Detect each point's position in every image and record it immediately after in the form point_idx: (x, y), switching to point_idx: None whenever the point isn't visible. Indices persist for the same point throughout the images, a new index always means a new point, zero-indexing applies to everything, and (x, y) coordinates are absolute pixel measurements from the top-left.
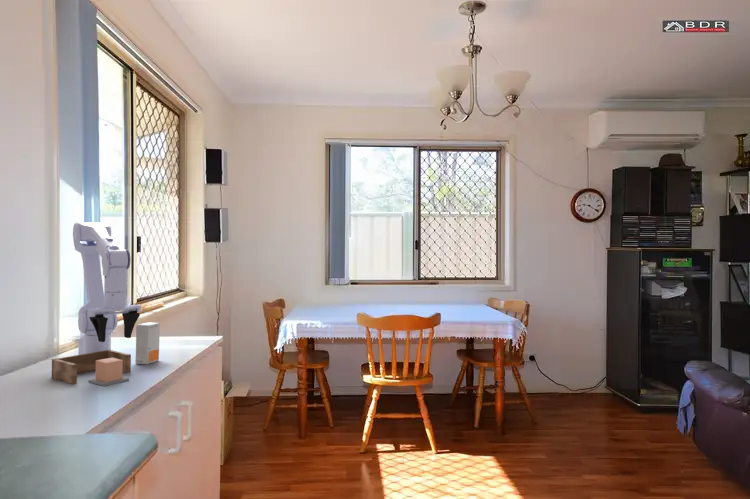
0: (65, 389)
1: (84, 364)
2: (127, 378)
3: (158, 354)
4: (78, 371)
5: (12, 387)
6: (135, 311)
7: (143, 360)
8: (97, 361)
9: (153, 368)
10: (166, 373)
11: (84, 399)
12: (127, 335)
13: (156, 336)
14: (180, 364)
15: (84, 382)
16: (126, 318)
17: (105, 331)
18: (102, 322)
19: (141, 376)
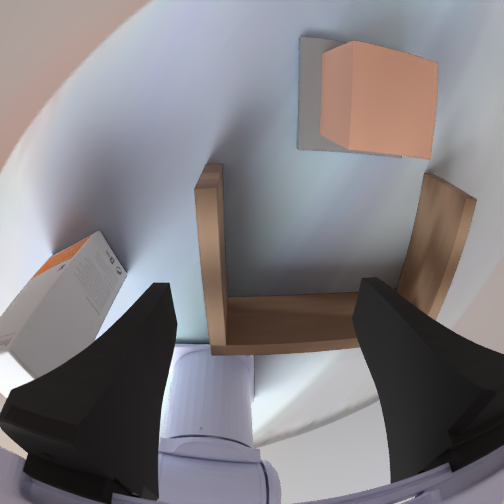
0: (471, 140)
1: (322, 312)
2: (306, 38)
3: (41, 267)
4: (336, 297)
5: (485, 272)
6: (40, 472)
7: (103, 251)
8: (431, 141)
9: (108, 151)
10: (121, 30)
11: (485, 11)
12: (167, 308)
13: (9, 311)
14: (18, 142)
15: (406, 163)
16: (142, 445)
17: (402, 318)
18: (489, 359)
19: (220, 55)
